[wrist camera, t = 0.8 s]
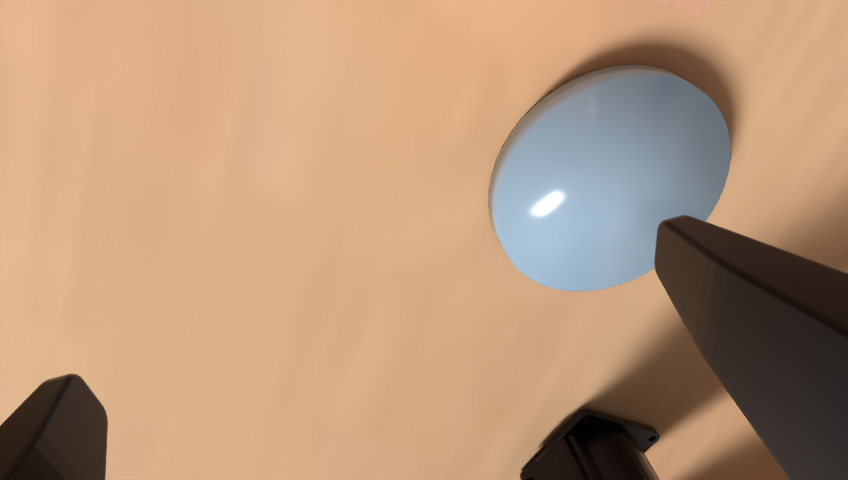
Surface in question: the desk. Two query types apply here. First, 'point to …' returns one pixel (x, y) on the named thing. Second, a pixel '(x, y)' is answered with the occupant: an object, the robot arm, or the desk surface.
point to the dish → (606, 175)
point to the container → (688, 5)
